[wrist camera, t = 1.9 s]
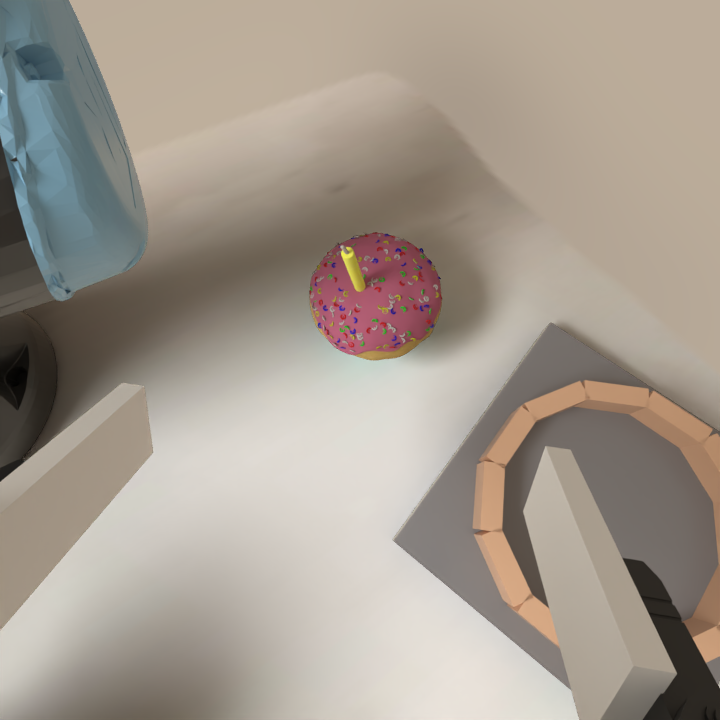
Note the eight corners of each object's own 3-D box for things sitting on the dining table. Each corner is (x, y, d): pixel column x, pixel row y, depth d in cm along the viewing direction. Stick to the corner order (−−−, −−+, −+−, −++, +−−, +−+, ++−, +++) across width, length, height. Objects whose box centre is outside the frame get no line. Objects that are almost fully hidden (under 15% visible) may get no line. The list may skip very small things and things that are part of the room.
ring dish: (392, 539, 29) (395, 543, 25) (543, 330, 33) (562, 310, 30) (656, 761, 25) (701, 799, 21) (787, 491, 29) (842, 488, 26)
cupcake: (363, 402, 31) (360, 338, 20) (293, 313, 34) (254, 211, 22) (457, 331, 33) (503, 235, 22) (384, 251, 35) (391, 126, 24)
